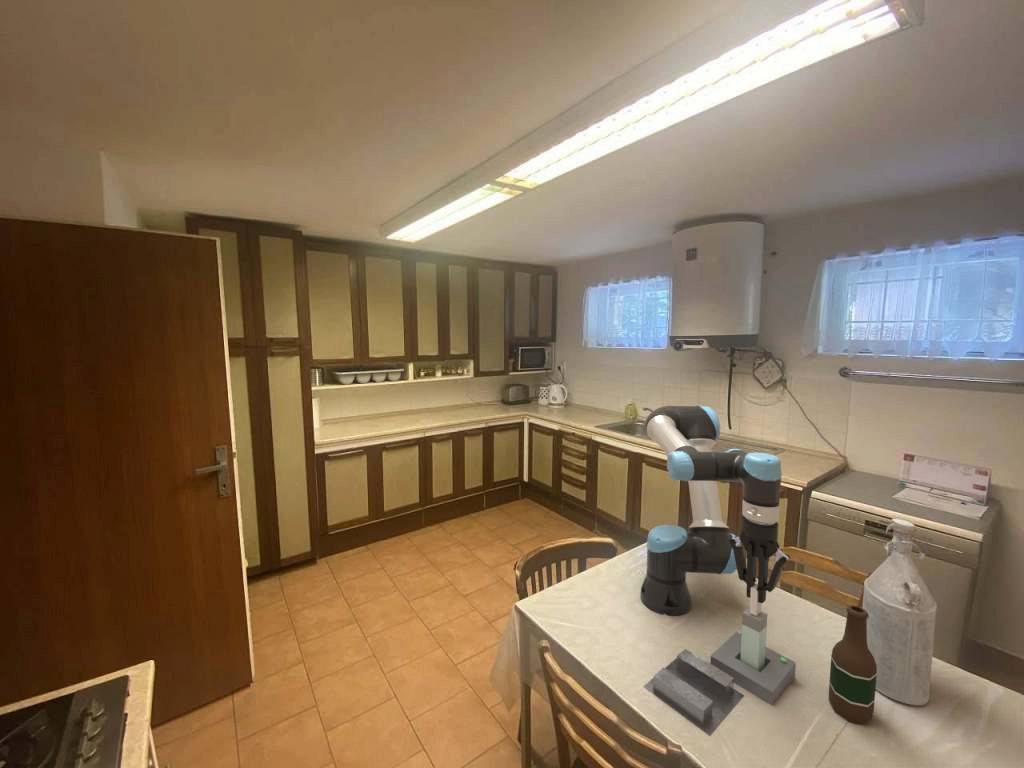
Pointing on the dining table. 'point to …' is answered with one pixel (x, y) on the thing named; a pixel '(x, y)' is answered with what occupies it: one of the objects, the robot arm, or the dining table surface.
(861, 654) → the beer bottle
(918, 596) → the canister
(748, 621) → the plug
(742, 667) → the port
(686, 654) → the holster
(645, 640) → the dining table surface
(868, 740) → the dining table surface
